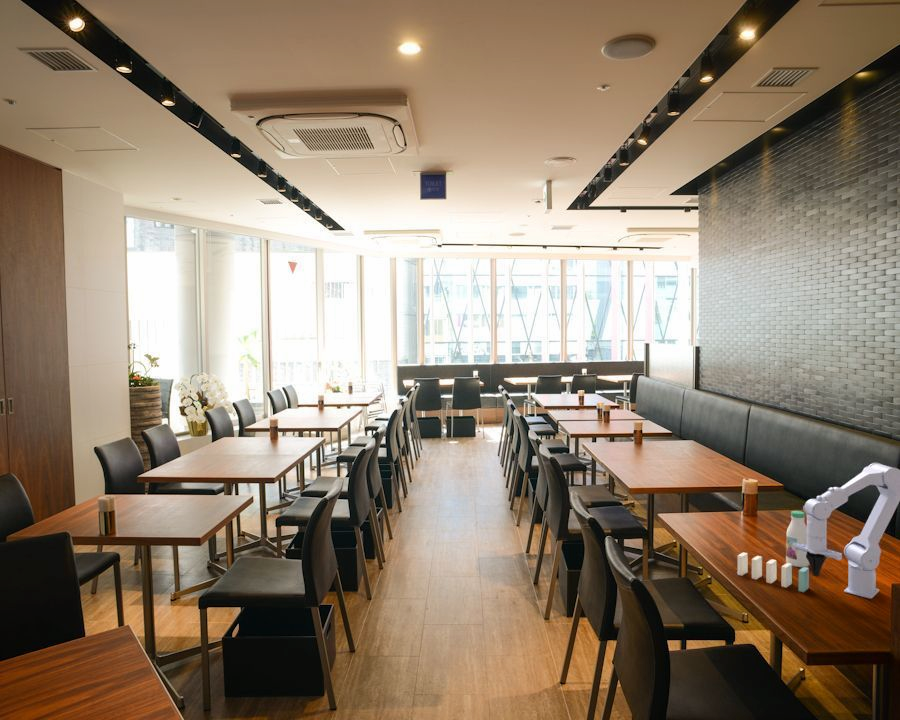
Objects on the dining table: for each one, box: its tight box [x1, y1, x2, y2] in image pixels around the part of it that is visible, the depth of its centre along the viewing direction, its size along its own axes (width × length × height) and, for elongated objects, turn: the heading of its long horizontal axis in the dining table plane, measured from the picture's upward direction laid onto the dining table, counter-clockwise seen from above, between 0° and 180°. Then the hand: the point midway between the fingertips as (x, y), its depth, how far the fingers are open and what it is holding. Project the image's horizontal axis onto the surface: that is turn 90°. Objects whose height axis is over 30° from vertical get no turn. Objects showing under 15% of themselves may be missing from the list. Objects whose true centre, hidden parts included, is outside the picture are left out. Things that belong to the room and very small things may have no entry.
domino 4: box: [780, 562, 793, 588], centre depth 215 cm, size 5×2×7 cm, turn 132°
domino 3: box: [765, 558, 778, 584], centre depth 219 cm, size 5×2×7 cm, turn 132°
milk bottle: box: [785, 510, 810, 568], centre depth 234 cm, size 8×8×20 cm
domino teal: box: [798, 567, 810, 593], centre depth 211 cm, size 5×2×7 cm, turn 132°
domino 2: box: [751, 555, 763, 580], centre depth 222 cm, size 5×2×7 cm, turn 132°
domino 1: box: [736, 551, 749, 576], centre depth 226 cm, size 5×2×7 cm, turn 132°
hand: (816, 575), depth 208 cm, fingers closed
